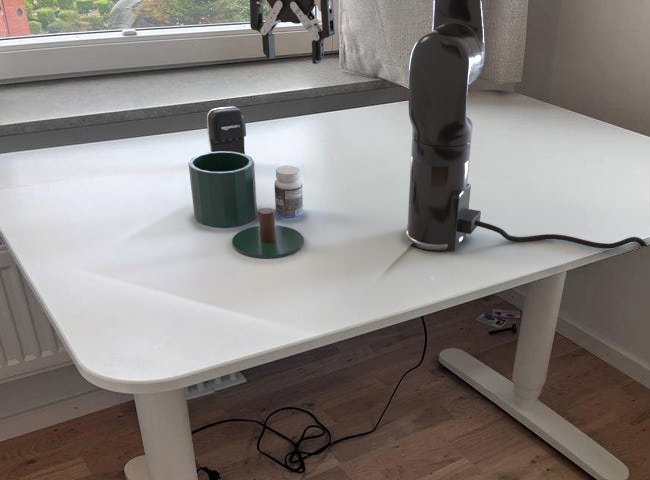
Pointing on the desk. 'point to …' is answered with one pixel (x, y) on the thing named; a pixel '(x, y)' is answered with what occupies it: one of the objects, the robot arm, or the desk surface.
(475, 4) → the robot arm
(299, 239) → the lid
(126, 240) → the desk surface
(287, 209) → the pill bottle
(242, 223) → the tin
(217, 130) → the battery charger
